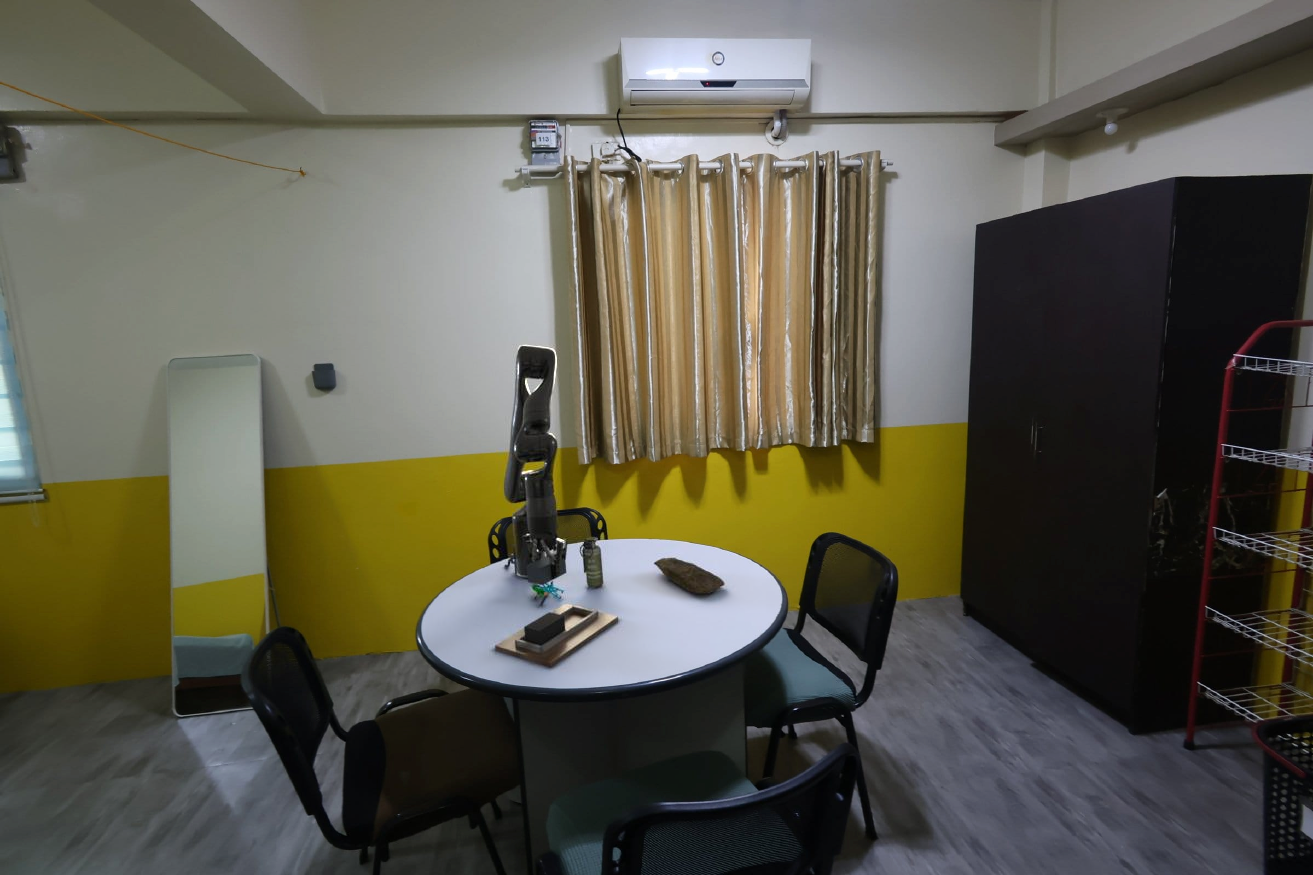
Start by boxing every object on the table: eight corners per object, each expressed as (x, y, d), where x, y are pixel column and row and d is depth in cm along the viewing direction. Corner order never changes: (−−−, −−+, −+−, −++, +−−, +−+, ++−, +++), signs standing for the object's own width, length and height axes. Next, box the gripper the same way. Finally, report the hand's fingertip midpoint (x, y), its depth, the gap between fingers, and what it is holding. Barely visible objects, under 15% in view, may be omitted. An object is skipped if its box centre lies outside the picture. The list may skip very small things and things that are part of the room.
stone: (702, 600, 170) (701, 580, 169) (649, 573, 191) (648, 555, 191) (731, 590, 175) (731, 571, 174) (677, 564, 197) (676, 547, 196)
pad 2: (525, 644, 148) (523, 626, 147) (550, 628, 155) (549, 611, 155) (540, 648, 145) (539, 631, 145) (565, 632, 153) (564, 615, 152)
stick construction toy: (570, 591, 175) (552, 575, 172) (558, 613, 170) (540, 596, 167) (544, 593, 183) (527, 578, 179) (533, 614, 178) (514, 598, 175)
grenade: (605, 582, 186) (601, 535, 183) (601, 590, 180) (598, 541, 178) (585, 583, 187) (581, 535, 184) (581, 590, 181) (577, 542, 179)
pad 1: (528, 581, 155) (526, 564, 154) (552, 569, 162) (550, 553, 162) (542, 585, 152) (540, 567, 152) (566, 572, 160) (565, 556, 159)
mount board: (495, 649, 148) (494, 639, 148) (565, 607, 170) (564, 598, 169) (551, 667, 139) (550, 656, 138) (618, 620, 160) (617, 611, 160)
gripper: (573, 510, 154) (578, 575, 156) (531, 505, 162) (537, 566, 164) (552, 518, 148) (558, 585, 150) (510, 512, 156) (517, 576, 158)
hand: (547, 575), depth 157 cm, fingers closed on pad 1, 5 cm apart
